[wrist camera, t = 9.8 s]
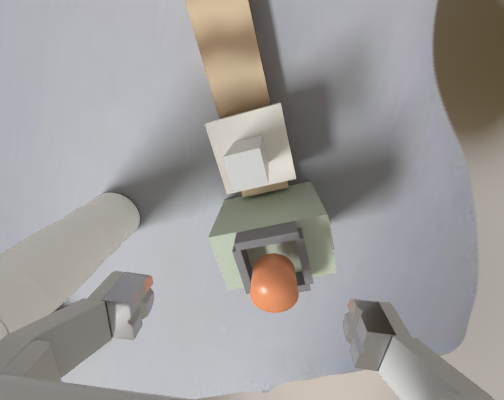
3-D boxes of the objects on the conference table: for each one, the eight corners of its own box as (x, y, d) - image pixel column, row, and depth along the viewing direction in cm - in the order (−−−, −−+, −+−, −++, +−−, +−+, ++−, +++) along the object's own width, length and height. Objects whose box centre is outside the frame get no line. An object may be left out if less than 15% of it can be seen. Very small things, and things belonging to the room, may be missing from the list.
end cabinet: (224, 199, 35) (203, 248, 24) (314, 180, 33) (336, 223, 22) (238, 242, 37) (224, 303, 26) (322, 226, 35) (346, 285, 24)
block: (188, 0, 26) (182, -7, 24) (243, -20, 25) (241, -29, 23) (244, 192, 34) (242, 197, 32) (287, 182, 33) (288, 187, 31)
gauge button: (247, 257, 23) (244, 279, 20) (290, 249, 22) (293, 271, 20) (258, 290, 24) (256, 315, 22) (298, 284, 24) (302, 309, 21)
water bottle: (104, 181, 35) (-218, 349, 12) (149, 208, 36) (-64, 409, 13) (87, 217, 37) (-206, 415, 14) (130, 242, 38) (-77, 460, 15)
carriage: (210, 121, 28) (182, 133, 19) (279, 102, 27) (284, 105, 18) (230, 185, 31) (214, 223, 22) (293, 171, 30) (304, 204, 21)
